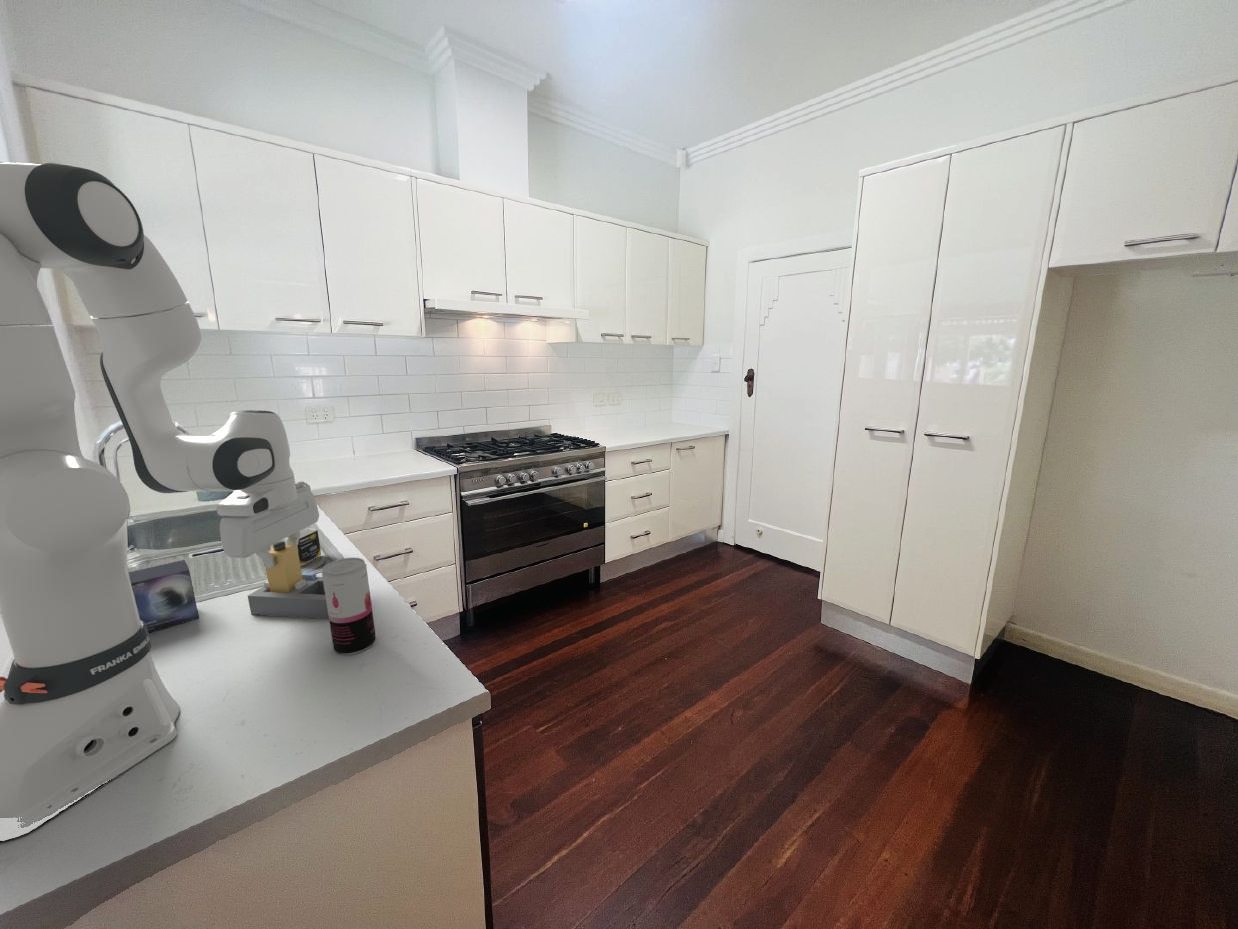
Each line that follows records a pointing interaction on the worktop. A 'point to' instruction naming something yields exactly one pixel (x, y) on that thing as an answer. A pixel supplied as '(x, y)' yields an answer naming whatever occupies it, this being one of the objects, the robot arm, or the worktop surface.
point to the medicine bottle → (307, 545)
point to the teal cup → (211, 495)
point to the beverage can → (349, 605)
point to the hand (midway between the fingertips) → (281, 560)
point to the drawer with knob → (284, 568)
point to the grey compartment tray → (292, 599)
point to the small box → (164, 595)
